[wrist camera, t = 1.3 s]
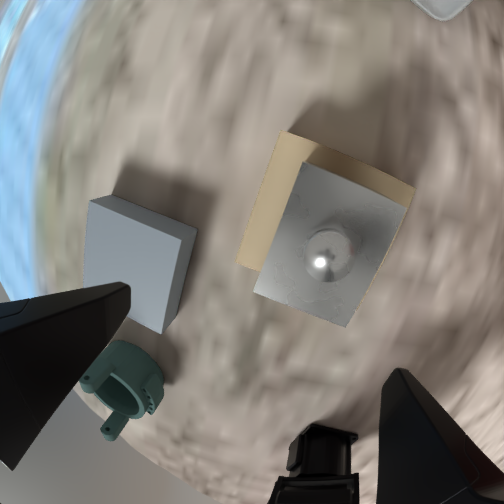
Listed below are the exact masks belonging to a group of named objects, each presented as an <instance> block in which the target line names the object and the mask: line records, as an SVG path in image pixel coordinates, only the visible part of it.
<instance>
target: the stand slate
mask: <svg viewBox="0 0 504 504" xmlns="http://www.w3.org/2000/svg"><path fill="white" fill-rule="evenodd" d="M197 230H198V229H196V228H194V227H191V226H189V225H186V224H184V223H181V222H179V221H176V220H174V219H171V218H169V217H166V216H164V215H161V214H159V213H156V212H154V211H151V210H149V209H146V208H144V207H141V206H139V205H136V204H134V203H131V202H128V201H126V200H123V199H121V198H118V197H116V196H113V195H108V196H104V197H100V198H97V199H93V200H90V201H89V206H88V215H87V225H86V236H85V250H84V275H83V288H87V287H92V286H97V285H102V284H108V283H113V282H118V281H121V282H123V283H126V284H128V285H130V287H131V308H130V311H129V313H128V315H127V317H129V318H131V319H132V320H134V321H136V322H138V323H140V324H142V325H144V326H146V327H147V328H149V329H151V330H153V331H155V332H157V333H159V334H162V333H163V332H164V331H165V329H166V328H167V327H168V326H169V325H170V323H171V322H172V321H173V320H174V319H175V317H176V314H177V310H178V305H179V301H180V297H181V293H182V288H183V284H184V280H185V276H186V272H187V268H188V264H189V260H190V256H191V253H192V249H193V245H194V241H195V238H196V234H197Z"/></svg>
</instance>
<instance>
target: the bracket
mask: <svg viewBox="0 0 504 504" xmlns="http://www.w3.org/2000/svg"><path fill="white" fill-rule="evenodd" d="M79 382H80V385H81V387H82V390H83V391H84V392H86V393H94V395H95V396H96V397H97V398H98V399H99V400H100V401H101V402H102V403H103V404H104V405H105V406H107V407H108V408H109V409H111V410H112V411H113V412H112V414H111V415H110V416H109V418H108V419H107V420H106V422H105V423H104V424H103V425H102V427H101V428H100V430H101V432H102V434H103V436H104V438H105V439H106V440H108V441H114V440H115V439H116V438H117V437H118V435H119V434H120V433H121V431H122V430H123V428H124V427H125V425H126V424H127V422H128V421H129V418H131V419H139V418H141V417H143V415H144V414H145V412H146V411H147V412H148V413H149V414H150V415H152V414H153V413H154V412H155V410H156V409H157V407H158V405H159V404H160V402H161V401H162V399H163V397H164V389H163V382H164V379H163V375H162V372H161V370H160V368H159V366H158V365H157V364H156V362H155V361H154V360H153V359H152V358H151V357H150V356H149V355H148V354H147V353H146V352H145V351H143V350H142V349H141V348H139V347H138V346H136V345H133V344H130V343H128V342H125V341H120V340H118V341H114V342H112V343H111V344H110V345H109V346H108V347H106V348H105V349H104V350H103V351H102V352H101V353H100V355H99V356H98V357H97V358H96V359H95V361H94V362H93V363H92V364H91V366H90V367H89V368H88V369H87V371H86V372H85V373H84V374H83V376H82V377H81V378H80V379H79Z"/></svg>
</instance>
